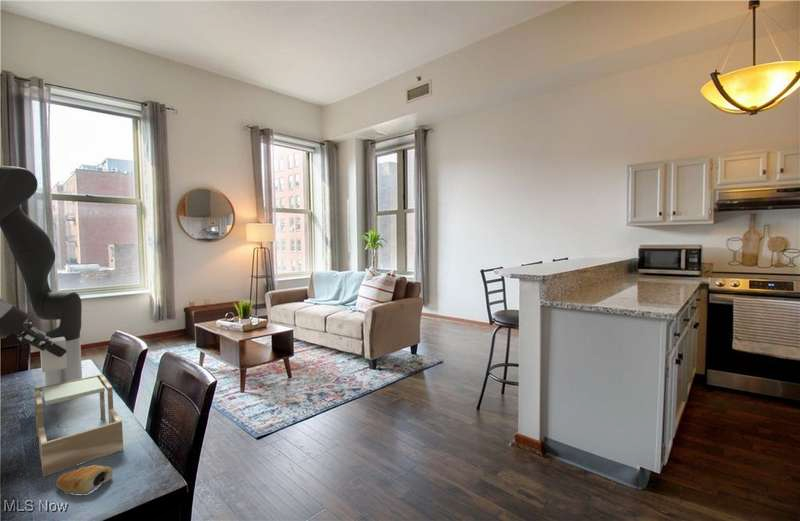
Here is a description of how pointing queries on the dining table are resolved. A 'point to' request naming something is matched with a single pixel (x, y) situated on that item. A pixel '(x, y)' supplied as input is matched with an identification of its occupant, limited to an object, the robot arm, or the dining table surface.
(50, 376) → the robot arm
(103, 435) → the trapdoor frame
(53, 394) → the trapdoor
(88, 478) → the pastry
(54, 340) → the white rectangular block
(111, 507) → the dining table surface
